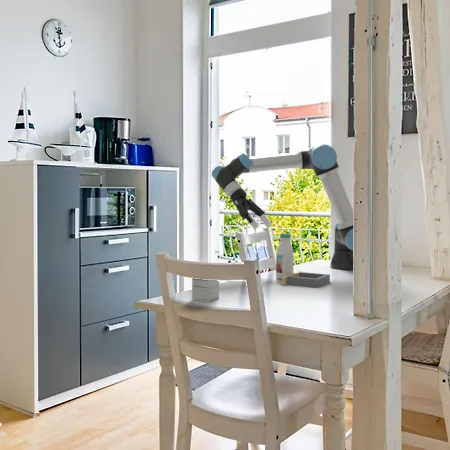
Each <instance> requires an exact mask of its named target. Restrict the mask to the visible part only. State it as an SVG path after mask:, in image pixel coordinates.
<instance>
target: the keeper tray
mask: <svg viewBox="0 0 450 450" xmlns="http://www.w3.org/2000/svg"><path fill="white" fill-rule="evenodd" d="M330 281H331V274H327V273H316V272H305V271H302V270H299V271H297V272H293V274H290V275H287V276H284V277H282V279H281V284H280V285H282V286H286V285H290V286H300V287H310V288H319V287H322V286H324V285H327V284H328V283H330Z"/></svg>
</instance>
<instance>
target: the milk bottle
mask: <svg viewBox="0 0 450 450" xmlns="http://www.w3.org/2000/svg"><path fill="white" fill-rule="evenodd" d="M291 235H292V234H291V233H280V234H279V239H280V243H279V244H278V248H277V249H276V256H275V257H276V258H275V259H276V262H275V277H276V279H278V280H282V277H284V276H287V275H290V274H293V273H294V262H295V261H294V260H295V259H294V258H295V257H294V256H295V255H294V249H293V246H292V244H291Z"/></svg>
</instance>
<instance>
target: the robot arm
mask: <svg viewBox="0 0 450 450" xmlns="http://www.w3.org/2000/svg"><path fill="white" fill-rule="evenodd" d="M337 155H338V154H337V152H336V150H335V148H334V147H333V146H331V145H329V144H326V143H320V144H317V145H313V146H312V147H308V148H306V149H298V150H297V152H289V153H280V154H279V153H278V154H269V155H259V156H258V155H257V156H251V157H250V156H249V155H248V153H246V152H242V153H241V154H239V155H238V156H237V157H235V158H234V159H232V160H231V161H230V162H229V163H228V164H226V165H223V164H219V165H218V166H217V165H216V166H215V167H214V168H213V169H212V172H211V177H212V178H213V179H214V181H215V182H216V183H217V185H218V186H219V187H220V188H221V189H222V191H223V192H224V193H225V195H226V196H227V197H228V198H229V199H230V201H232V203H233V204H234V206H235V207H236V209H237V212H238V214H239V215H240V217H241V218H242V220H244V221H245V219H246V221H247V222H248V223H249V224H250V227H252V229H254V230H256V229H258V228H259V227H260V224H259V223H258V222H257V221H256V220H255V218H254V217H253V216H252V214H250V213H249V211H251V212H252V213H254V214H255V215H257V216H258V218H259V219H260V221H261V222H262V223H263V224H264V226H265V227H266V228H267V229H269V228H270V227H271V226H272V225H273V224H272V222H271V221H270V220H269V218H268V217H267V216H266V214H265V213H266V211H264V210H263V209H262V208H261V207H260V206H259V205H258V204H256V203H255V202H254V201H253V200H252V199H251V198H249V199H248V198H247V192H246V191H245V190H244V188H242V186H241V185H240V183H238V181H237V180H236V179H237V178H238V177H239V176H241V175H242V174H246V173H256V172H257V173H258V172H265V171H275V170H279V171H280V170H287V169H296V168H297V169H299V170H313V172H314V173H315V176H316V178H319V179H320V181H321V183H322V186H323V188H324V190H325V193H326V196H327V198H328V200H329V202H330V204H331V207H332V210H333V212H334V214H335V218H336V220H337V223H335V224H334V245H333V246H334V249H333V250H334V252H333V254H332V257H331V260H330V265H329V266H330V268H332V269H336V270H354V269H353V211H354V209H353V207H352V204H351V202H350V200H349V196H348V195H347V192H346V189H345V187H344V185H343V182H342V179H341V177H340V174H339V172H338V171H339V168H340V166H339V163H338V161H337V158H338V156H337Z"/></svg>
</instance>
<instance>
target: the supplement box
mask: <svg viewBox="0 0 450 450" xmlns="http://www.w3.org/2000/svg"><path fill="white" fill-rule="evenodd" d="M219 287H220V280H219V281H217V280H203V279H195V278H192V277H191V296H192V297H191V299H192V300H194V301H198V302H199V301H200V302H207V303H208V302H211V301H215V300H218V299H220V288H219Z"/></svg>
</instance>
